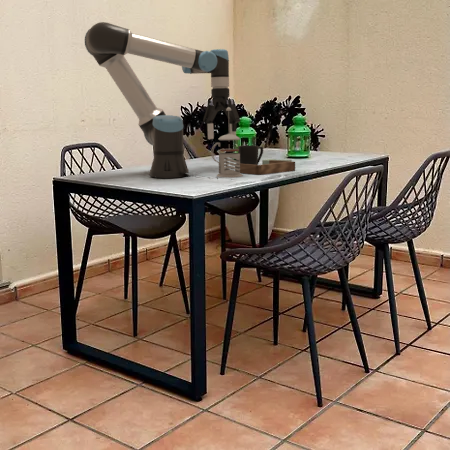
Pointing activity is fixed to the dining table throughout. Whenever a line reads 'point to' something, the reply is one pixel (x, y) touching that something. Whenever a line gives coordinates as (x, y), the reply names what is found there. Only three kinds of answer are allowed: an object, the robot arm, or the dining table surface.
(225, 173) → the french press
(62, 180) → the dining table surface
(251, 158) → the mug
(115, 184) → the dining table surface
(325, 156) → the dining table surface
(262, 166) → the brown wooden tray
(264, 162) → the t block
